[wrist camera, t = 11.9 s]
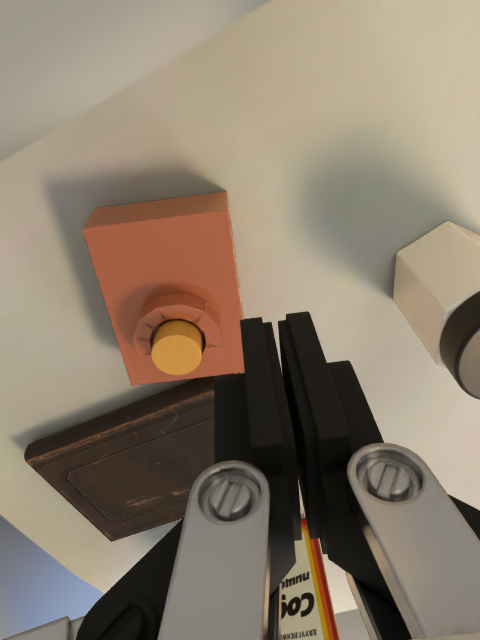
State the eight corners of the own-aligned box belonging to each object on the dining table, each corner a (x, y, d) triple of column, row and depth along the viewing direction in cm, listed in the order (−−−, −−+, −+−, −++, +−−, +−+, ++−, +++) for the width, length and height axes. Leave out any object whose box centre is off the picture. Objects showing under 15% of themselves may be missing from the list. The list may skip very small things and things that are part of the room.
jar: (479, 309, 41) (567, 400, 31) (389, 320, 41) (447, 415, 31) (498, 213, 36) (610, 283, 26) (395, 226, 36) (466, 302, 26)
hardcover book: (293, 464, 51) (296, 481, 49) (114, 524, 55) (110, 542, 53) (233, 361, 43) (234, 376, 41) (29, 440, 47) (21, 458, 45)
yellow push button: (149, 322, 33) (145, 338, 32) (198, 316, 33) (197, 332, 32) (159, 361, 35) (156, 378, 34) (205, 355, 35) (205, 372, 34)
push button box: (94, 208, 34) (74, 238, 29) (226, 191, 34) (229, 218, 29) (138, 356, 42) (128, 400, 37) (246, 342, 42) (251, 385, 37)
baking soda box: (249, 559, 60) (259, 711, 47) (238, 530, 57) (246, 686, 43) (320, 546, 60) (351, 697, 46) (313, 516, 56) (345, 670, 43)
